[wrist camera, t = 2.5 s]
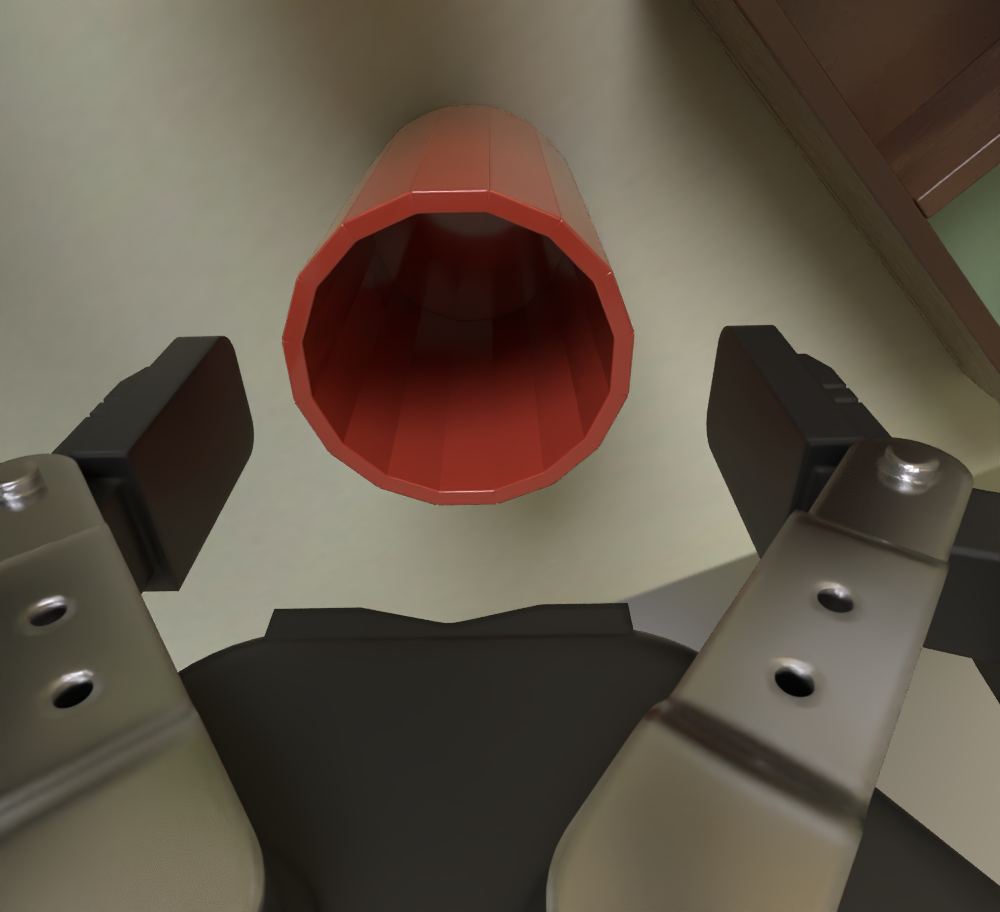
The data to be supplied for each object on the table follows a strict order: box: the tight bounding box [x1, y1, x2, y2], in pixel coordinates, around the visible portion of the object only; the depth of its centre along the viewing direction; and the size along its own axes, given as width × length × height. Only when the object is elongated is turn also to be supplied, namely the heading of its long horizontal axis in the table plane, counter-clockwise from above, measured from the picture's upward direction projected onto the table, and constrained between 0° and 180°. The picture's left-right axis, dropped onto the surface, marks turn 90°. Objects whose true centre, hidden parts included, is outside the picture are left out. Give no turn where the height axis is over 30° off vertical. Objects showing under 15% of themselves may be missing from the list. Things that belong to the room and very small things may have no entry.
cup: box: [282, 104, 634, 505], centre depth 16 cm, size 6×6×9 cm
